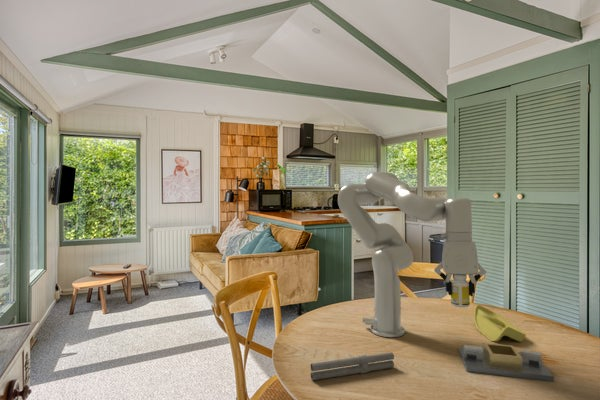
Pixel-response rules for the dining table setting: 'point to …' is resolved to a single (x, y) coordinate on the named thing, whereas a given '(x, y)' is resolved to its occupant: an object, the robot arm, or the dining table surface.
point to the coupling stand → (504, 361)
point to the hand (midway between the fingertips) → (460, 294)
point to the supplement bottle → (460, 291)
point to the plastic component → (495, 325)
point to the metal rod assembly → (351, 365)
